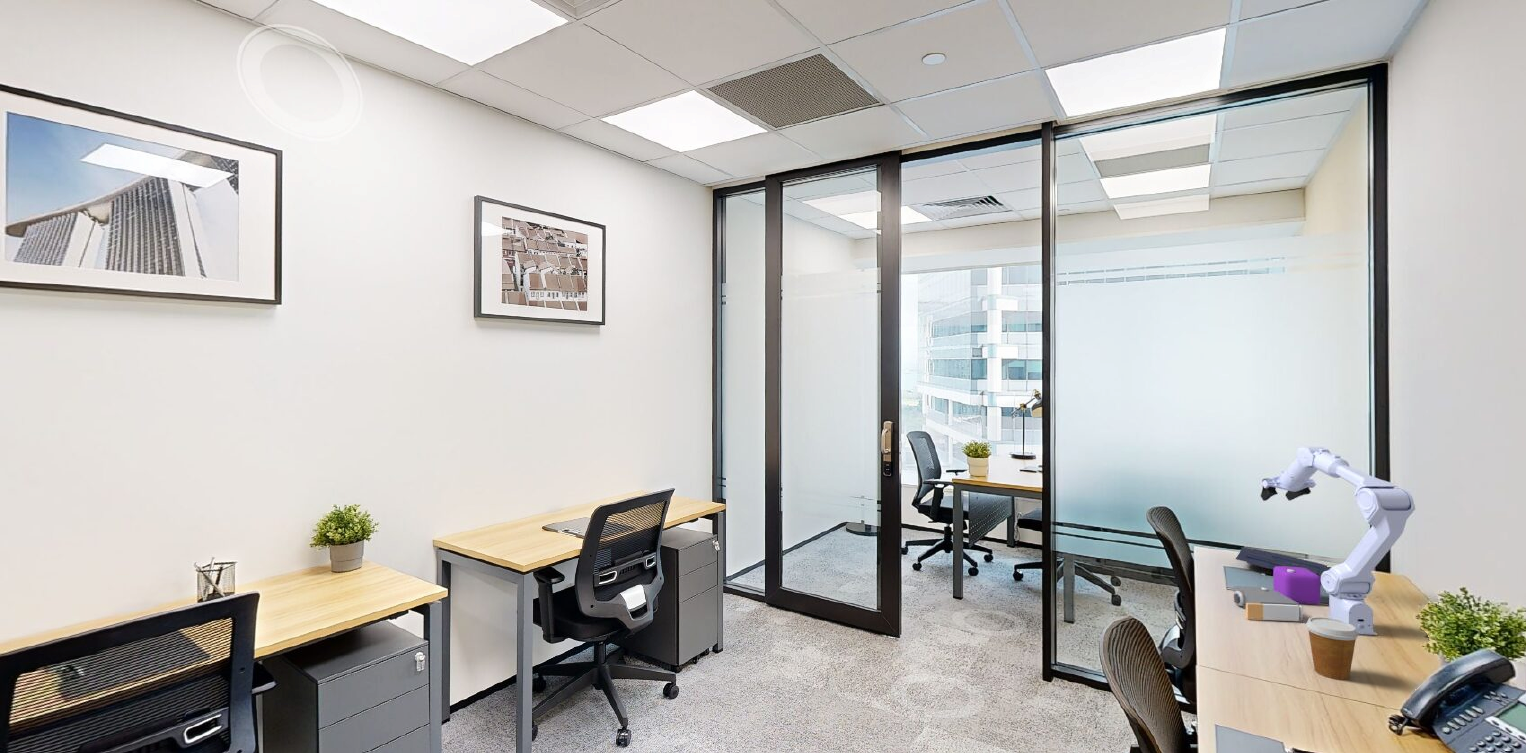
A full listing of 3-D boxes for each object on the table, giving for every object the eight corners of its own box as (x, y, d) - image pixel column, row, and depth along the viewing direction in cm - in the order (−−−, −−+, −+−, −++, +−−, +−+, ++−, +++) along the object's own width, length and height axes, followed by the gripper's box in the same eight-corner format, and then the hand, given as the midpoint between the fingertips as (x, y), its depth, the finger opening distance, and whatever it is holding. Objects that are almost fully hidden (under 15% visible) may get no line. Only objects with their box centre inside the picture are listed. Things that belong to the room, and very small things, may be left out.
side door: (1297, 620, 186) (1297, 605, 186) (1299, 621, 185) (1299, 606, 185) (1246, 618, 188) (1246, 603, 188) (1247, 619, 187) (1247, 604, 187)
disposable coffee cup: (1305, 661, 162) (1305, 613, 161) (1357, 672, 156) (1357, 622, 155) (1306, 675, 154) (1305, 625, 154) (1360, 687, 148) (1360, 635, 148)
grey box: (1303, 622, 185) (1303, 603, 185) (1258, 620, 187) (1258, 601, 187) (1271, 603, 200) (1271, 585, 200) (1229, 601, 202) (1229, 583, 202)
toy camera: (1296, 591, 211) (1296, 560, 211) (1328, 606, 197) (1328, 573, 197) (1260, 590, 212) (1260, 560, 212) (1290, 605, 198) (1290, 573, 198)
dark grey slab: (1241, 552, 250) (1243, 543, 249) (1345, 577, 230) (1347, 568, 229) (1233, 567, 232) (1235, 557, 231) (1345, 596, 212) (1347, 585, 211)
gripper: (1315, 463, 201) (1292, 487, 211) (1266, 463, 202) (1245, 487, 212) (1328, 482, 197) (1304, 506, 206) (1278, 482, 198) (1256, 506, 208)
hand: (1275, 498), depth 209 cm, fingers open, 7 cm apart
